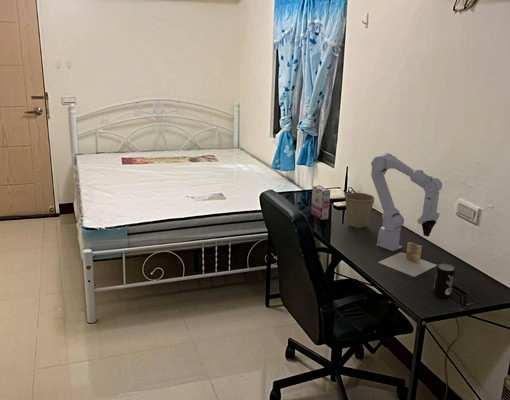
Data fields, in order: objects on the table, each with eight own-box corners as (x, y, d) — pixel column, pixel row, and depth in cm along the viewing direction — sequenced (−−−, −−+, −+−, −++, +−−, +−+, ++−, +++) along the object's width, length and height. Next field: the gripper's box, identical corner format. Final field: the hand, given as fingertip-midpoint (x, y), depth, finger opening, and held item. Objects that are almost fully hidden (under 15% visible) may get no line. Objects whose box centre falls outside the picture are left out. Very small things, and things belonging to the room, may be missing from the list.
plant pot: (374, 231, 254) (377, 201, 249) (345, 230, 254) (347, 200, 250) (368, 221, 268) (371, 192, 264) (340, 220, 269) (343, 191, 264)
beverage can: (439, 300, 186) (444, 271, 183) (429, 292, 192) (433, 264, 189) (454, 298, 188) (459, 269, 184) (444, 290, 194) (448, 262, 190)
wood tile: (405, 259, 220) (407, 242, 218) (407, 258, 221) (409, 241, 219) (417, 264, 216) (419, 246, 214) (419, 263, 217) (422, 246, 215)
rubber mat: (377, 263, 217) (377, 262, 217) (401, 252, 228) (401, 251, 228) (414, 277, 204) (414, 276, 204) (437, 266, 215) (437, 265, 215)
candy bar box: (329, 219, 270) (331, 190, 265) (321, 220, 268) (323, 191, 263) (318, 212, 279) (319, 184, 274) (310, 214, 277) (312, 185, 272)
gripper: (429, 212, 210) (425, 242, 214) (447, 205, 219) (443, 234, 223) (414, 207, 215) (411, 237, 219) (432, 201, 224) (428, 229, 228)
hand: (426, 235), depth 221 cm, fingers closed
